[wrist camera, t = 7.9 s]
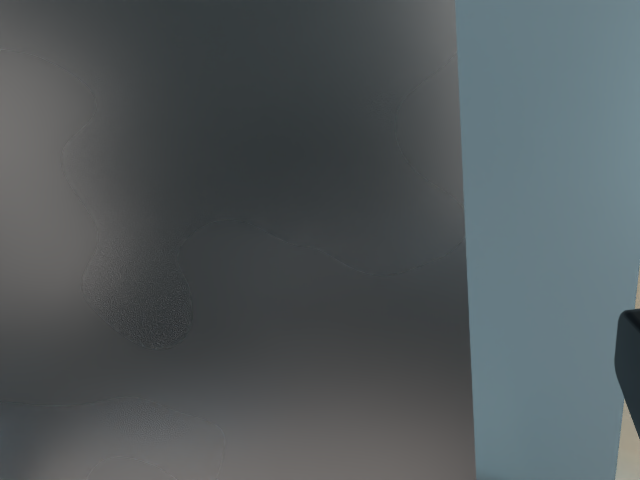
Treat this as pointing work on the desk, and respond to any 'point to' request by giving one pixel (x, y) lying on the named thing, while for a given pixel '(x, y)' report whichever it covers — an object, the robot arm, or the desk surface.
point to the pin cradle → (549, 227)
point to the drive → (232, 241)
